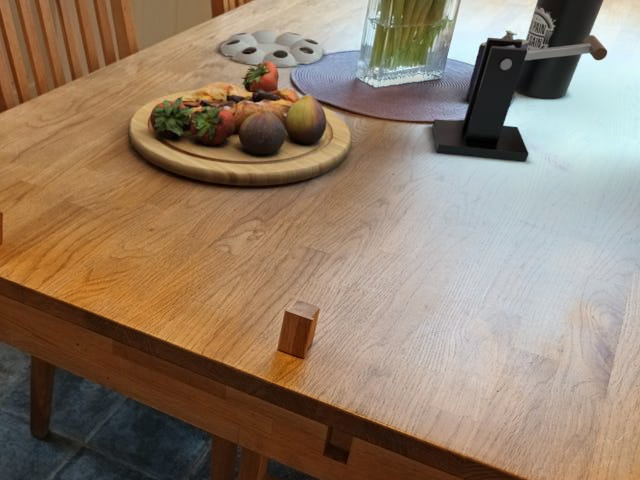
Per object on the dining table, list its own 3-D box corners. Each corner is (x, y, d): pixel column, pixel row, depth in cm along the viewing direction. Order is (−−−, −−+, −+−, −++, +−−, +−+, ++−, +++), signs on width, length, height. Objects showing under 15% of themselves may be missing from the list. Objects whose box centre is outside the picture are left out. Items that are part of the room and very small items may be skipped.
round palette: (199, 51, 137) (200, 40, 136) (258, 31, 149) (259, 20, 148) (285, 74, 128) (287, 62, 126) (341, 50, 139) (343, 39, 138)
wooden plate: (205, 88, 121) (207, 36, 116) (384, 132, 107) (396, 75, 102) (82, 149, 101) (79, 89, 96) (284, 213, 87) (293, 148, 82)
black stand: (515, 134, 107) (547, 37, 99) (525, 161, 100) (562, 58, 91) (432, 126, 109) (457, 30, 101) (436, 152, 102) (464, 51, 93)
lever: (594, 49, 97) (597, 31, 95) (605, 63, 92) (609, 43, 91) (488, 61, 100) (489, 43, 99) (493, 75, 96) (495, 56, 95)
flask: (504, 93, 122) (526, 25, 115) (517, 99, 119) (539, 30, 113) (460, 99, 119) (479, 31, 112) (472, 105, 117) (493, 36, 110)
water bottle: (496, 81, 126) (542, -70, 112) (551, 79, 127) (604, -70, 113) (525, 101, 119) (579, -58, 104) (583, 99, 120) (644, -58, 105)
